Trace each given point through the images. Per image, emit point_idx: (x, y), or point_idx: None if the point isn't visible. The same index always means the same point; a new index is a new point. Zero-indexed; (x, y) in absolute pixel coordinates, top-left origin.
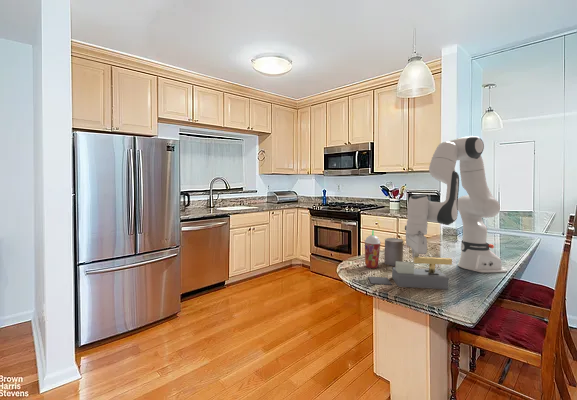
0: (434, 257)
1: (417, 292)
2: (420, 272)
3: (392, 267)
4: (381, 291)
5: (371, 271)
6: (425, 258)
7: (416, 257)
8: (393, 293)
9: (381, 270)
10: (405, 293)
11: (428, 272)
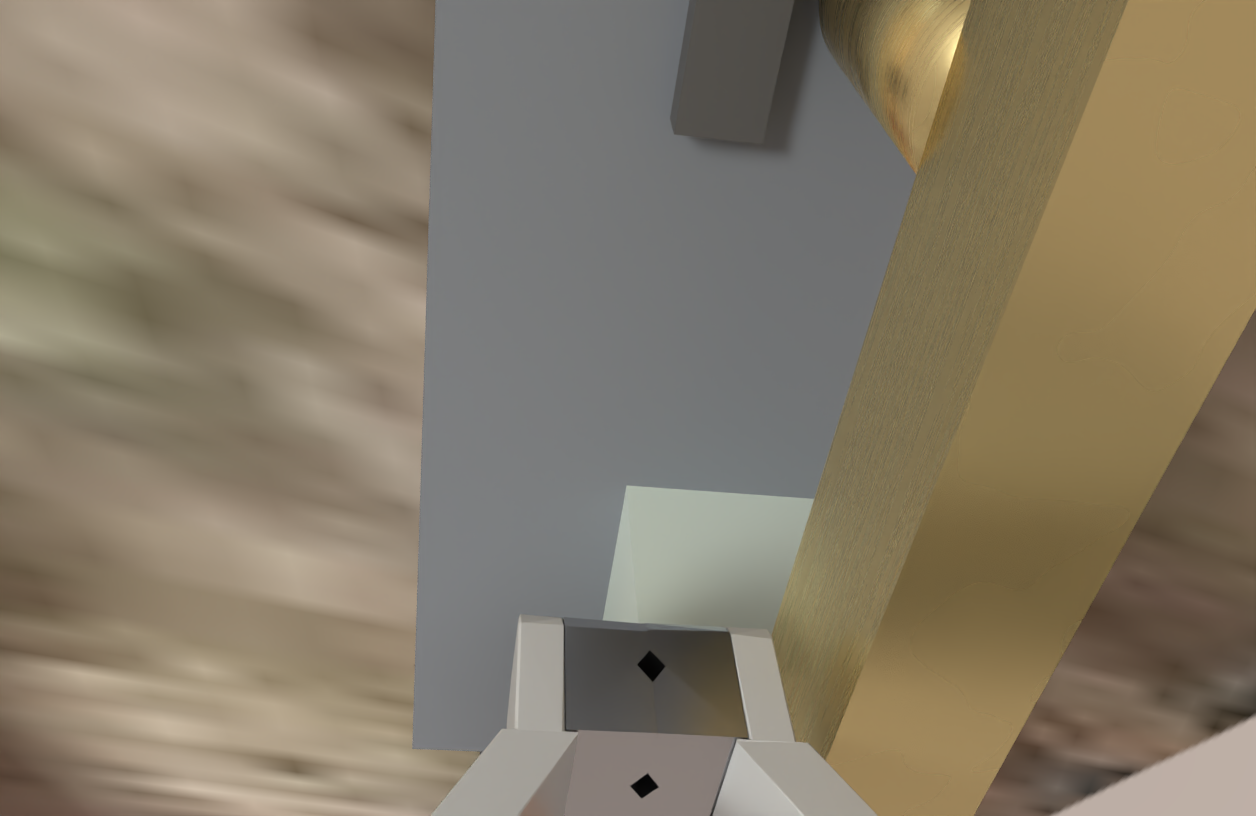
0: (1118, 64)
1: (1207, 426)
2: (817, 321)
3: (417, 748)
4: (1024, 806)
5: (137, 770)
6: (1102, 562)
7: (925, 804)
8: (1127, 715)
9: (4, 633)
10: (1179, 593)
11: (840, 81)
